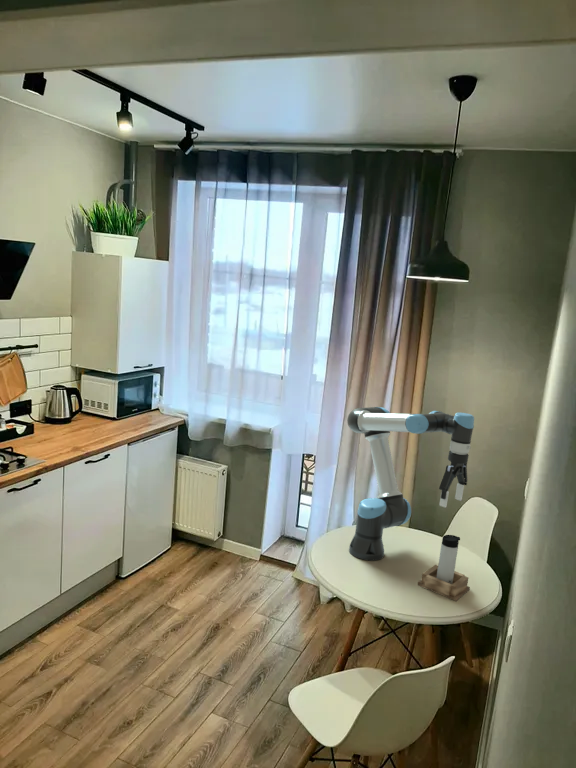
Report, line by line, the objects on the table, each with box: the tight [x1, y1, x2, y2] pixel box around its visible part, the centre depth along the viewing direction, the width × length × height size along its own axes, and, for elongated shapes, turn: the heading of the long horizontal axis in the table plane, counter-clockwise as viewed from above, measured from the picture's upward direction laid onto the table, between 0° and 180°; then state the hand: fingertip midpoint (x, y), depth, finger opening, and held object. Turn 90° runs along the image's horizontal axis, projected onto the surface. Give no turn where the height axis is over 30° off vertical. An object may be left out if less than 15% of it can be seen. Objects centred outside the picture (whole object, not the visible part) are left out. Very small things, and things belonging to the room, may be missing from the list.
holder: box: [417, 564, 471, 602], centre depth 224 cm, size 16×14×5 cm
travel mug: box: [436, 534, 461, 584], centre depth 223 cm, size 6×7×20 cm
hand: (450, 503), depth 229 cm, fingers open, 13 cm apart
